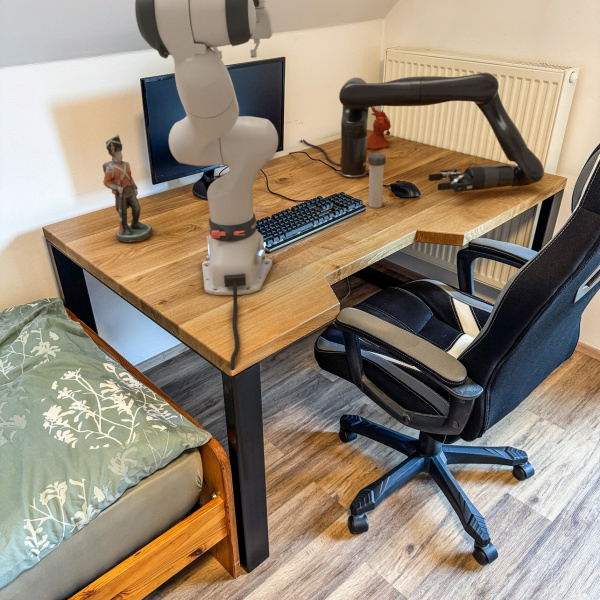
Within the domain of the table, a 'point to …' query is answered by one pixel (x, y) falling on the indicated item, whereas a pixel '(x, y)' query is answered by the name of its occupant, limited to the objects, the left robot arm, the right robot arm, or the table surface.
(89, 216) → the table surface
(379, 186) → the white cylinder
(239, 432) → the left robot arm
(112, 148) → the figurine
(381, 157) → the lid
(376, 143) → the toy
